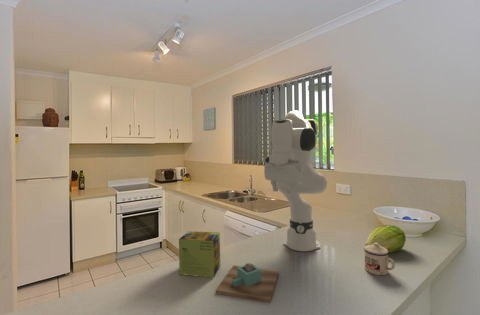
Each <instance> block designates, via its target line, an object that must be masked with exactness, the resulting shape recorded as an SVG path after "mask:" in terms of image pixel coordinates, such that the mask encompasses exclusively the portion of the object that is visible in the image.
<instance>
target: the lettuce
mask: <svg viewBox="0 0 480 315" xmlns="http://www.w3.org/2000/svg"><path fill="white" fill-rule="evenodd" d="M406 240H407V238H406V234H405V232H404V231H403V229H401V228H400V227H398V226H396V225H392V224H385V225H384V226H383V225H382V226H379V227H377V228H374V229H373V230H372V231H371V232H370V234H369V235H368V237H367V239H366V242H365V245H364V247H365V246H368V245H373V244H374V243H378V244H379V245H380V246H381V247H384V248H386V249H387V250H388V252H389V253H395V252H397V251H400V250H401V249H402V248H404V246H405V244H406Z"/></svg>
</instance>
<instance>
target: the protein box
mask: <svg viewBox="0 0 480 315" xmlns="http://www.w3.org/2000/svg"><path fill="white" fill-rule="evenodd" d="M178 256H179V257H178V261H179V275H180V274H187V275H197V276H196V277H198V276H206V277H205V278H210V277H214V278H215V276H216V275H217V273H218V272H219V270H220V268H221V234H220V232H219V231H217V232H214V231H213V232H212V231H195V230H194V231H191V230H189V231H187V232H186V233H185V234H183V235H182V236H181V237H179V239H178ZM217 271H218V272H217Z"/></svg>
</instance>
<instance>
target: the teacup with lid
mask: <svg viewBox="0 0 480 315" xmlns="http://www.w3.org/2000/svg"><path fill="white" fill-rule="evenodd" d="M363 250H364V269H365V271H366V272H368V273H370V274H373V275H377V276H386V275H387V274H388V273H389V271H393V270H394V269H395V266H396V263H395V261H394V260H393V258H390V257H389V253H390V252H388V250H387V249H386V248H384V247H381V246H380V245H379V244H378V243H374V244H373V245H368V246H365V245H364V248H363ZM389 262H390V263H391V264H392V265H391V267H389Z"/></svg>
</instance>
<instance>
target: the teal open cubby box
mask: <svg viewBox="0 0 480 315" xmlns="http://www.w3.org/2000/svg"><path fill="white" fill-rule="evenodd" d="M245 265H246V264H245ZM245 265H240V266H241V267H238V268H237V278H236V279H233V280H232V282H233V286H234V287H236V286H238V285H241V284H244V285H246V286H250V285H253V284H255V283H258V282H260V281H261V269H262V268H259V267H257V266H256V265H255V264H253V271H251V272H248V273H247V272H246V271H245Z"/></svg>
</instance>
